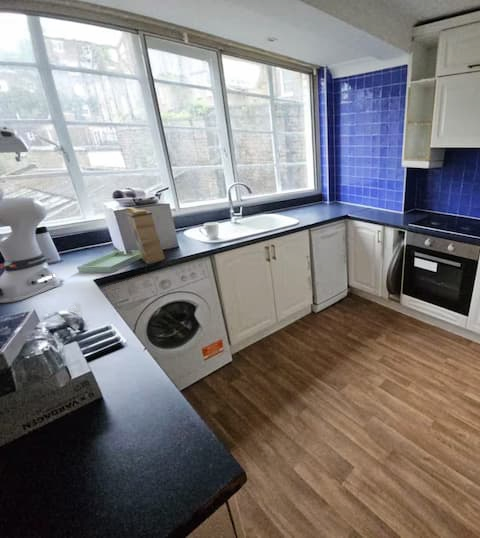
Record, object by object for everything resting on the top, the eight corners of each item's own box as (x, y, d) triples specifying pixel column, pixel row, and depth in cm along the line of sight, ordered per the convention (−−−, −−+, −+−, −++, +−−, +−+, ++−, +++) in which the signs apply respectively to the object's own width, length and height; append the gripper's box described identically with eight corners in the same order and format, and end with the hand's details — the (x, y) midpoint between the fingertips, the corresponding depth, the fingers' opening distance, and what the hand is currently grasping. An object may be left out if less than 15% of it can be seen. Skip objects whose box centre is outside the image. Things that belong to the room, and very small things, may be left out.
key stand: (166, 259, 160) (151, 212, 150) (148, 264, 154) (131, 215, 144) (158, 255, 167) (144, 210, 156) (141, 260, 160) (125, 213, 150)
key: (147, 212, 149) (146, 210, 149) (135, 214, 146) (134, 212, 145) (135, 208, 160) (134, 206, 160) (124, 210, 156) (123, 208, 156)
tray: (112, 272, 146) (110, 266, 144) (79, 272, 147) (76, 266, 145) (146, 255, 167) (145, 250, 166) (117, 255, 168) (115, 250, 167)
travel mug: (52, 264, 157) (34, 228, 149) (42, 264, 159) (25, 228, 151) (65, 260, 163) (49, 225, 155) (55, 259, 164) (39, 224, 156)
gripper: (-51, 133, 124) (-30, 165, 132) (19, 133, 135) (34, 162, 143) (-48, 128, 127) (-27, 160, 136) (20, 128, 138) (35, 158, 147)
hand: (5, 161), depth 140 cm, fingers open, 8 cm apart
